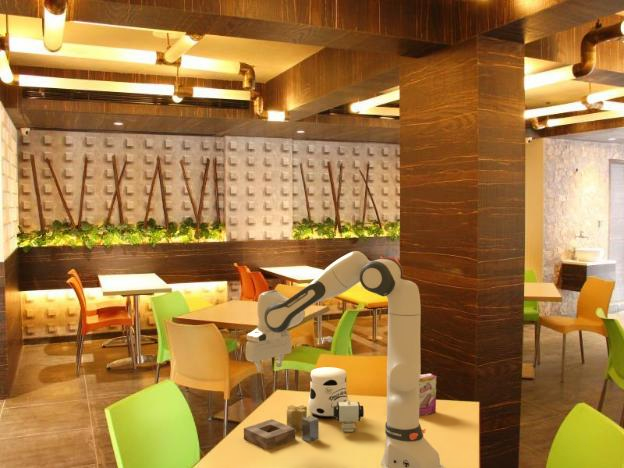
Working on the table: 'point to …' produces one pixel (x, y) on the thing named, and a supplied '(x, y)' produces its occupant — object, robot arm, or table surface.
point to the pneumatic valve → (348, 414)
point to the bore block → (269, 433)
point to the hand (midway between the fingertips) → (269, 368)
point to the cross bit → (296, 416)
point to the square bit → (310, 429)
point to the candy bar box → (427, 394)
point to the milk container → (327, 390)
